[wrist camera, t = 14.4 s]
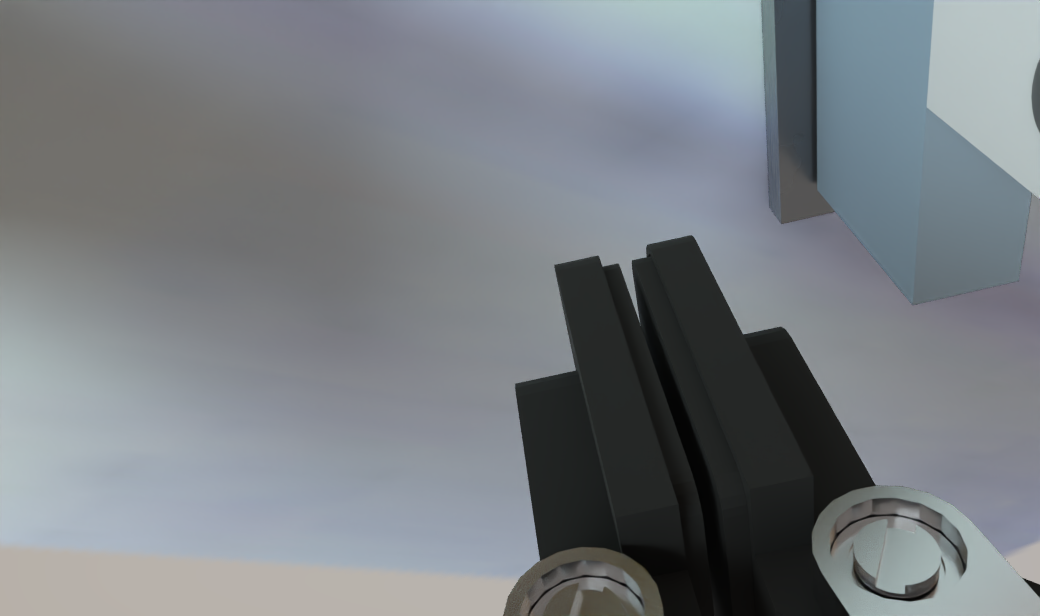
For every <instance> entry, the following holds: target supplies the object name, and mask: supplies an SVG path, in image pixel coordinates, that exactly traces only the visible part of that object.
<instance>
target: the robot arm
mask: <svg viewBox="0 0 1040 616" xmlns="http://www.w3.org/2000/svg"><path fill="white" fill-rule="evenodd" d="M646 254H647V257H646V258H641V259H636V260H632V270H633V277H634V284H635V291H636V298H637V304H638V311H639V318H640V323H639V320H638V317H637V314H636V311H635V309H634V306H633V303H632V300H631V297H630V294H629V291H628V289H627V286H626V283H625V280H624V277H623V274H622V271H621V269H620V266H619V264H614V265H609V266H604V267H602V264H601V261H600V259H599V256H594V257H590V258H585V259H580V260H576V261H571V262H567V263H562V264H558V265H554V266H555V272H556V277H557V282H558V286H559V291H560V296H561V301H562V306H563V310H564V315H565V320H566V325H567V330H568V334H569V339H570V344H571V349H572V354H573V358H574V363H575V368H576V371H572V372H568V373H563V374H559V375H554V376H549V377H545V378H540V379H535V380H531V381H526V382H521V383H517V384H515V389H516V398H517V404H518V411H519V418H520V425H521V432H522V439H523V446H524V453H525V460H526V467H527V474H528V480H529V487H530V494H531V501H532V508H533V515H534V522H535V529H536V536H537V543H538V550H539V556H540V561H539V562H537V563H536V564H535V565H534V566H533V567H532V568H530V569H529V570H528V571H527V572H526V573H525V574H524V575H523V576H521V577H520V578H519V580H518V582H517V583H516V585H515V586H514V588H513V590H512V591H511V593H510V594H509V596H508V599H507V603H506V607H505V611H504V615H503V616H1040V585H1039V584H1037V583H1034V582H1032V581H1029V580H1026V579H1024V578H1021V576H1020V575H1019V574H1018V573H1017V572H1016V571H1015V570H1014V569H1013V568H1012V566H1011V565H1010V564H1009V563H1008V562H1007V561H1006V560H1005V558H1004V557H1003V556H1002V555H1001V554H1000V553H999V552H998V551H997V550H996V548H995V547H994V546H993V545H992V544H991V543H990V542H989V541H988V539H987V538H986V537H985V536H984V535H983V534H982V533H981V532H980V530H979V529H978V528H977V527H976V526H975V525H974V524H973V523H972V521H971V520H969V519H968V518H967V517H966V516H965V515H963V514H962V513H961V512H960V511H959V510H958V509H956V508H955V507H954V506H953V505H952V504H950V503H948V502H946V501H944V500H942V499H940V498H938V497H936V496H934V495H932V494H930V493H927V492H923V491H919V490H915V489H911V488H907V487H903V486H878V485H877V486H876V485H875V484H874V482H873V480H872V478H871V477H870V475H869V473H868V471H867V469H866V468H865V466H864V464H863V462H862V461H861V459H860V457H859V455H858V454H857V452H856V450H855V448H854V447H853V445H852V443H851V441H850V440H849V438H848V436H847V434H846V433H845V431H844V429H843V427H842V426H841V424H840V422H839V420H838V419H837V417H836V415H835V413H834V412H833V410H832V408H831V406H830V405H829V403H828V401H827V399H826V398H825V396H824V394H823V392H822V391H821V389H820V387H819V385H818V384H817V382H816V380H815V378H814V377H813V375H812V373H811V371H810V370H809V368H808V366H807V364H806V363H805V361H804V359H803V357H802V356H801V354H800V352H799V350H798V348H797V347H796V345H795V343H794V341H793V340H792V338H791V337H790V335H789V334H788V332H787V331H786V330H785V329H784V328H782V327H777V328H772V329H768V330H763V331H758V332H754V333H749V334H744V335H743V334H742V332H741V330H740V328H739V326H738V324H737V322H736V320H735V318H734V316H733V314H732V312H731V310H730V308H729V306H728V304H727V302H726V300H725V298H724V296H723V294H722V292H721V290H720V288H719V286H718V284H717V282H716V280H715V278H714V276H713V274H712V272H711V270H710V268H709V266H708V264H707V262H706V260H705V258H704V256H703V254H702V252H701V250H700V248H699V246H698V244H697V242H696V240H695V238H694V237H693V236H692V235H690V236H685V237H681V238H676V239H672V240H667V241H663V242H658V243H653V244H649V245H647V247H646ZM640 324H641V326H640Z"/></svg>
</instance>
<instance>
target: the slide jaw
mask: <svg viewBox="0 0 1040 616" xmlns="http://www.w3.org/2000/svg"><path fill="white" fill-rule="evenodd" d="M816 39H817V190H818V191H819V192H820V194H821V195H822V196H823V197H824V199H825V200H826V201H827V202H828V203H829V205H830V206H831V207H832V208H833V209H834V211H835V212H836V213H837V214H838V216H839V217H840V218H841V219H842V220H843V222H844V223H845V224H846V225H847V226H848V228H849V229H850V230H851V231H852V232H853V234H854V235H855V236H856V237H857V239H858V240H859V241H860V242H861V243H862V245H863V246H864V247H865V248H866V249H867V251H868V252H869V253H870V254H871V255H872V257H873V258H874V259H875V260H876V262H877V263H878V264H879V265H880V266H881V268H882V269H883V270H884V271H885V272H886V274H887V275H888V276H889V277H890V279H891V280H892V281H893V282H894V283H895V285H896V286H897V287H898V288H899V289H900V291H901V292H902V293H903V294H904V295H905V297H906V298H907V299H908V300H909V302H910V303H911V304H912V305H917V304H921V303H925V302H930V301H934V300H938V299H943V298H947V297H951V296H956V295H960V294H965V293H969V292H973V291H978V290H982V289H986V288H991V287H995V286H999V285H1004V284H1008V283H1013V282H1017V281H1019V275H1020V268H1021V262H1022V255H1023V249H1024V242H1025V235H1026V229H1027V222H1028V216H1029V209H1030V202H1031V196H1032V193H1033V194H1034V195H1035V196H1036V197H1038V198H1039V199H1040V0H816Z"/></svg>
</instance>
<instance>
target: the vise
mask: <svg viewBox="0 0 1040 616" xmlns="http://www.w3.org/2000/svg"><path fill="white" fill-rule="evenodd" d="M761 7H762V32H763V56H764V81H765V106H766V131H767V156H768V181H769V206H770V209H771V210H772V212H773V213H774V215H775V216H776V217H777V219H778V220H779V222H780V223H781V224H784V223H788V222H792V221H797V220H801V219H805V218H810V217H814V216H818V215H823V214H827V213H831V212H835V211H834V209H833V208H832V207H831V206H830V205H829V203H828V202H827V201H826V200H825V199H824V197H823V196H822V195H821V194H820V192H819V191H818V190H817V39H816V0H761Z"/></svg>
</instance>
